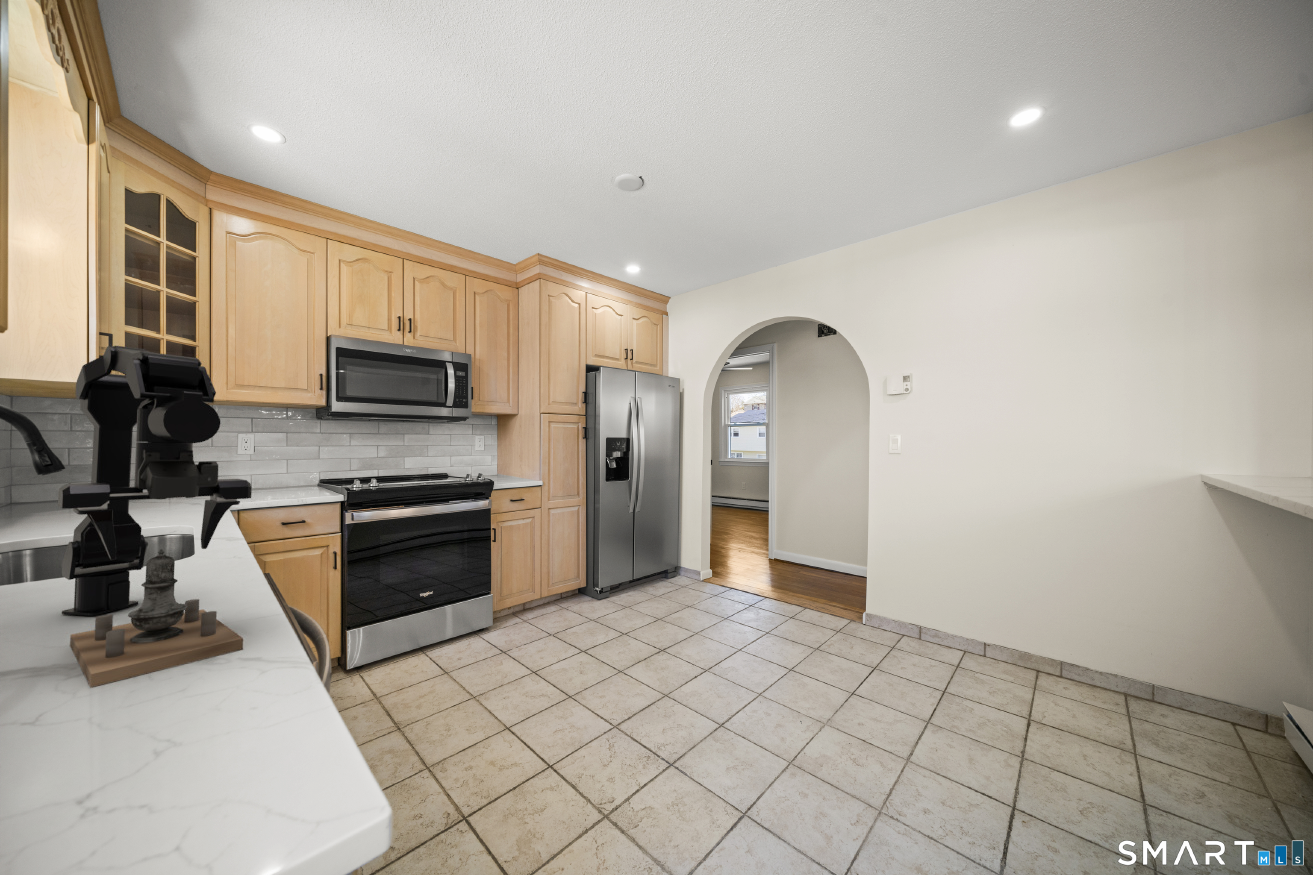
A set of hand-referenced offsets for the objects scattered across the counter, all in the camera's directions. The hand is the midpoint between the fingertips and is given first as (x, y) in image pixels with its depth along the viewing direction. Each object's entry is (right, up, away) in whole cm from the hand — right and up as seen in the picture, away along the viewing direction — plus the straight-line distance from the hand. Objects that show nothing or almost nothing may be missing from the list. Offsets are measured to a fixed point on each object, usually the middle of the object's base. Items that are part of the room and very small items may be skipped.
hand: (160, 553), depth 70 cm
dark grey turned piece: (0, -12, -1) cm, 12 cm away
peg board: (0, -13, -1) cm, 13 cm away
